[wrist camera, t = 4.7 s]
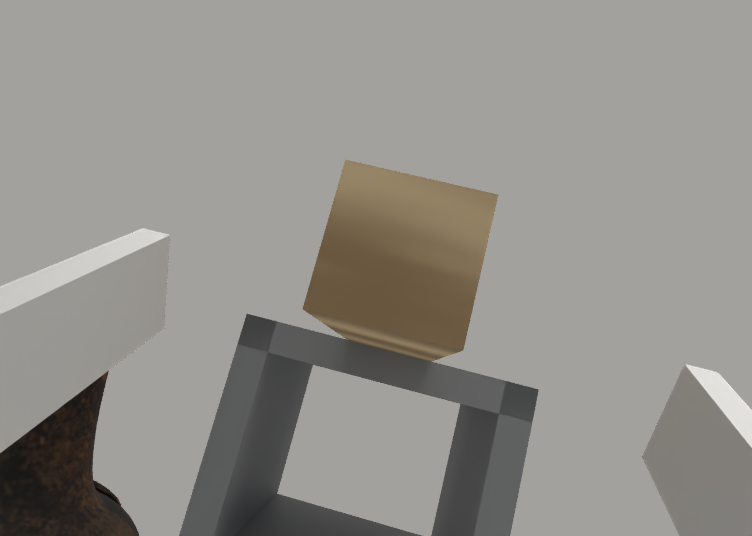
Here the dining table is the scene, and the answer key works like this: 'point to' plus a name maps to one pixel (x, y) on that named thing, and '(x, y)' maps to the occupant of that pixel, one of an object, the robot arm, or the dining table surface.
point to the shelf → (278, 421)
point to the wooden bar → (401, 261)
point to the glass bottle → (60, 477)
